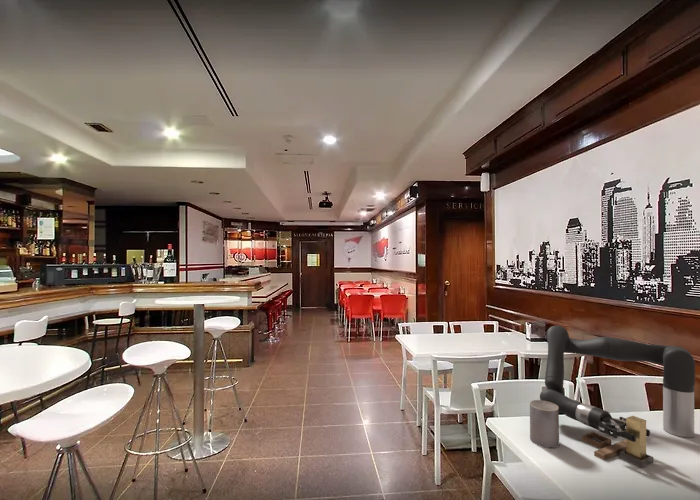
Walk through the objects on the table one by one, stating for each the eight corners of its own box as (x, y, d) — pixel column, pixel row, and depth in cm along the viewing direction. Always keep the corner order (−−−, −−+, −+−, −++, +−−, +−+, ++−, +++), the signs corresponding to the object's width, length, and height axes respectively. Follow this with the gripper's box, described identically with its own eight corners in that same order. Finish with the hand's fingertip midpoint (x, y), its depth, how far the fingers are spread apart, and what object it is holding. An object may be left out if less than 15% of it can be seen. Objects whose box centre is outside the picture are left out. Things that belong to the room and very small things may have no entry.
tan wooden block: (633, 456, 128) (632, 415, 129) (646, 461, 125) (646, 420, 125) (626, 458, 127) (626, 417, 127) (639, 464, 123) (639, 422, 123)
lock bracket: (603, 433, 145) (603, 428, 145) (663, 458, 127) (663, 452, 127) (570, 444, 136) (570, 439, 136) (630, 473, 118) (630, 466, 118)
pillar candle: (537, 432, 145) (537, 394, 145) (564, 443, 137) (563, 402, 137) (524, 440, 139) (524, 400, 139) (551, 451, 131) (551, 409, 131)
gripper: (581, 410, 136) (630, 429, 121) (604, 403, 142) (654, 420, 127) (581, 430, 136) (630, 452, 121) (604, 423, 142) (654, 442, 127)
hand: (642, 436), depth 124 cm, fingers open, 8 cm apart
